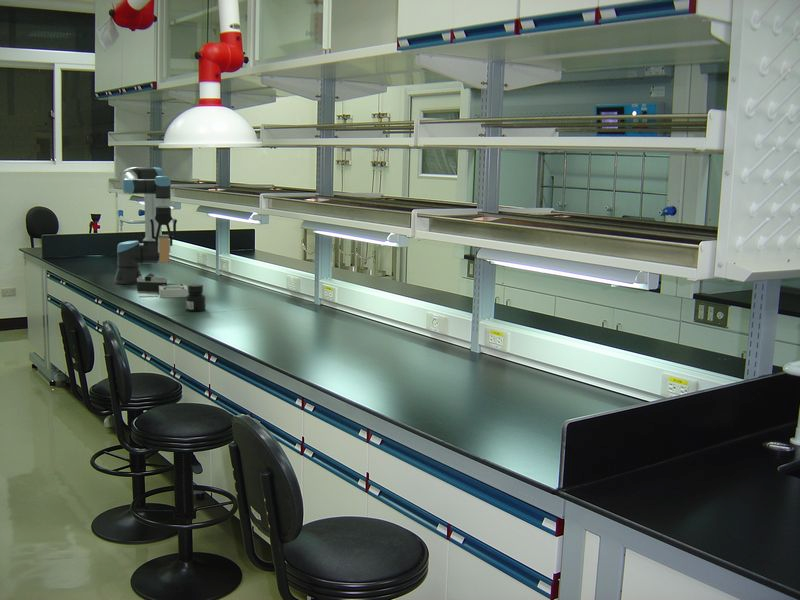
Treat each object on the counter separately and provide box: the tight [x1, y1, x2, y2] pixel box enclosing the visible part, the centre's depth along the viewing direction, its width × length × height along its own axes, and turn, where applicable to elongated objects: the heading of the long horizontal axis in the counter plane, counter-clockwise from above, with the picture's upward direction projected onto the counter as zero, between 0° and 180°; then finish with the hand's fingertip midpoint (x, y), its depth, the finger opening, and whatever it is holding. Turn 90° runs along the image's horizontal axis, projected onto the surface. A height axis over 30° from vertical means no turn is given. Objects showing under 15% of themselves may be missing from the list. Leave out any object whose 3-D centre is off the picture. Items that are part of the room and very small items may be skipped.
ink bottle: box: [185, 283, 206, 313], centre depth 378 cm, size 10×9×12 cm
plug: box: [159, 234, 170, 264], centre depth 414 cm, size 5×5×14 cm
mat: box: [138, 292, 159, 298], centre depth 415 cm, size 9×9×1 cm
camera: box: [136, 272, 168, 294], centre depth 427 cm, size 16×9×10 cm, turn 89°
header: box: [158, 283, 189, 298], centre depth 419 cm, size 14×14×5 cm
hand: (164, 252), depth 415 cm, fingers closed on plug, 4 cm apart
